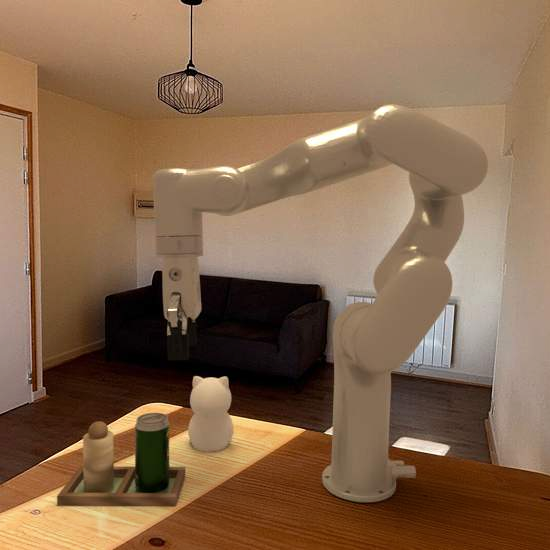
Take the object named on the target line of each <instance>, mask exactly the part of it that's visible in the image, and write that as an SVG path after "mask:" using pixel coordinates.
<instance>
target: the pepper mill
mask: <svg viewBox="0 0 550 550" xmlns="http://www.w3.org/2000/svg"><path fill="white" fill-rule="evenodd" d="M114 451H115V450H114V433H113V432H112V431H111V430H109V428H108V425H107V423H105V422H104V421H94V422H93V423H91V425H89V427H88V432H87V433H85V434H84V435H83V436H82V455H83V456H82V457H83V458H82V459H83V460H82V462H83V465H82V466H83V469H84V479H83V480H84V493H110V492H111V491H112V490H113V489H114V465H115V464H114V463H115V462H114V460H115V459H114V457H115V456H114Z"/></svg>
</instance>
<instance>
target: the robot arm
mask: <svg viewBox="0 0 550 550" xmlns="http://www.w3.org/2000/svg"><path fill="white" fill-rule="evenodd" d="M488 159H489V158H488V157H487V154H486V151H485V150H484V148H483V147H482V146H481V144H479V142H477V141H476V140H474V138H472V137H470V136H468V135H467V134H464V133H463V132H460V131H459V130H456V129H454V128H452V127H450V126H448V125H446V124H444V123H442V122H441V121H438V120H436V119H433V117H429V116H428V115H425V114H423V113H421V112H419V111H417V110H414V109H413V108H410V107H408V106H405V105H400V104H396V103H394V104H393V103H389V104H385V105H381V106H379V107H377V108H376V109H374V110H373V111H372V112H371V113H370V114H369V115H367V116H366V117H364V118H361V119H358V120H355V121H351V122H348V123H345V124H343V125H339V126H336V127H333V128H331V129H327V130H324V131H320V132H317V133H315V134H312V135H311V134H310V135H308V136H305V137H301V138H300V139H297V140H296V141H293V142H292V143H290V144H288V145H287V146H285V147H284V148H282V149H281V150H279V151H278V152H277V153H274V154H273V155H270V156H269V157H266V158H263V159H262V160H259V161H256V162H254V163H250V164H248V165H245V166H242V167H238V168H236V167H234V166H230V165H217V166H212V167H203V168H196V169H195V168H194V169H190V168H189V169H188V168H180V167H175V168H173V167H172V168H162V169H158V170H157V171H156V172H155V173H154V174H153V177H152V193H153V195H152V196H153V198H152V199H153V216H154V218H153V219H154V221H153V222H154V236H155V237H154V242H155V243H154V245H155V246H154V247H155V258H162V269H161V273H162V305H163V315H164V318H165V319H166V320H167V329H166V349H167V351H166V353H167V360H168V361H169V362H170V361H188V360H189V358H190V347H189V346H196V344H197V322H196V319H197V318H198V317H199V315H200V313H201V312H202V301H201V300H202V298H201V280H200V267H199V259H198V257H204V239H203V238H204V237H203V213H210V214H217V215H219V216H224V217H232V216H235V215H238V214H241V213H243V212H248V211H251V210H253V209H255V208H259V207H262V206H265V205H269V204H271V203H274V202H277V201H281V200H283V199H286V198H291V197H294V196H299V195H305V194H307V193H310V192H313V191H316V190H320V189H324V188H325V187H329V186H332V185H335V184H338V183H340V182H344V181H347V180H350V179H352V178H353V179H354V178H355V177H359V176H363V175H366V174H368V173H372V172H375V171H378V170H380V169H383V168H386V167H388V166H390V165H395V166H396V167H398V168H400V169H402V170H404V171H406V172H408V180H409V185H410V187H411V190H412V193H413V200H414V208H413V211H412V212H413V213H412V215H411V218H410V219H409V221H408V222H407V224H406V226H405V228H404V229H403V231H402V232H401V233H400V234H399V237H398V238H397V239H396V241H395V242H394V243H393V244H392V246H391V247H390V249H389V250H388V252H387V253H386V255H384V257H383V258H382V260H381V261H380V263H379V264H378V265H377V267H376V268H375V272H374V273H373V287H374V290H375V291H376V294H377V296H376V297H375V299H374V300H373V301H372V302H367V301H357V302H352V303H350V304H348V305H346V306H344V307H343V308H342V310H340V311H339V313H338V315H337V316H336V318H335V321H334V325H333V327H332V347H333V349H332V350H333V368H334V369H333V372H334V374H333V377H334V378H333V380H334V381H333V405H332V406H333V408H332V409H333V410H332V436H331V437H332V439H331V441H332V442H331V445H332V446H331V464H330V465H328V466H326V467H325V468H324V469H323V471H322V474H321V481H322V482H321V483H322V484H323V486H324V487H323V488H325V489H326V490H327V491H328V493H331V494H332V495H334V496H336V497H338V498H341V499H344V500H346V501H350V502H355V503H376V502H377V503H378V502H381V501H385V500H387V499H389V498H390V497H392V495H394V494H395V492H396V489H397V480H398V478H404V479H405V478H406V479H407V478H408V479H411V478H412V479H414V478H416V476H417V471H416V467H415V465H405V462H404V460H391V459H390V458H389V440H390V439H389V436H390V435H389V434H390V414H391V413H390V412H391V393H392V376H391V373H392V372H394V371H397V370H398V369H400V368H401V367H403V365H404V364H405V363H406V362H407V361H408V360H409V359H410V358H411V356H412V355H413V353H415V351H416V349H417V348H418V347H419V345H420V344H421V343H422V341H423V340H424V339H425V337H426V336H427V334H428V333H429V331H430V330H431V329H432V327H433V326H434V324H436V322H437V321H438V319H439V317H440V316H441V315H442V313H443V312H444V310H445V308H446V307H447V305H448V303H449V301H450V298H451V295H452V291H453V277H452V272H451V270H450V268H449V266H448V265H447V263H446V261H447V260H448V257H449V256H450V254H451V253H452V251H453V250H454V248H455V246H456V245H457V243H458V242H459V240H460V239H461V238H460V237H461V236H462V233H463V229H464V225H465V224H464V223H465V210H464V209H465V208H464V201H463V195H466V194H468V193H471V192H473V191H474V190H476V189H477V188H479V187H480V186H481V184H483V182H484V180H485V179H486V176H487V173H488V169H489V161H488Z"/></svg>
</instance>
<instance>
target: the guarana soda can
mask: <svg viewBox="0 0 550 550" xmlns="http://www.w3.org/2000/svg"><path fill="white" fill-rule="evenodd" d="M168 419H169V417H168V415H167V414H165V413H161V412H149V413H144V414H142V415H139V416H138V417H136V419H135V420H136V423H135V425H134V465H135V466H134V467H135V478H134V480H135V488H136V491H137V493H165V492H166V491H167V489H168V487H169V479H170V478H169V467H170V421H169V420H168Z"/></svg>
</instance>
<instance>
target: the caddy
mask: <svg viewBox="0 0 550 550" xmlns="http://www.w3.org/2000/svg"><path fill="white" fill-rule="evenodd" d="M185 477H186V466H169V487H168V489H167V491H166V492H165V493H137V491H136V488H135V466H123V465H122V466H114V489H113V490H112V491H111V492H110V493H84V469H83V465H81V466H79V467H78V469H77V470H76V471H75V472H74V474H73V475H72V476H71V478H70V479H69V480H68V482H67V483H66V484H65V485H64V487H63V488H62V489H61V490H60V492H59V493H58V494H57V495H56V506H59V507H173V508H175V507H176V506H177V503H178V501H179V497H180V494H181V490H182V487H183V485H184V481H185Z"/></svg>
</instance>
